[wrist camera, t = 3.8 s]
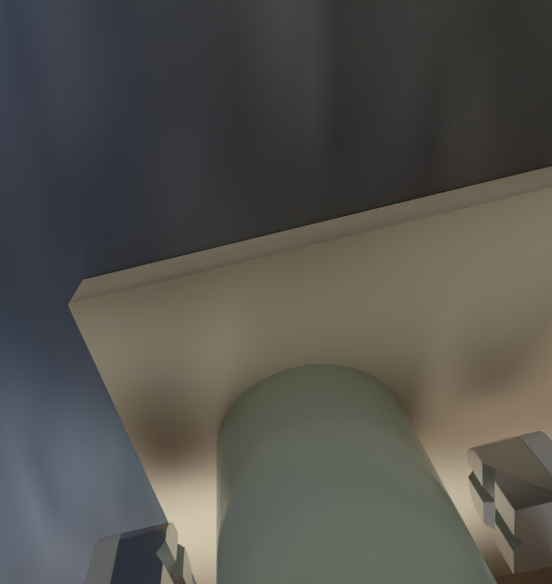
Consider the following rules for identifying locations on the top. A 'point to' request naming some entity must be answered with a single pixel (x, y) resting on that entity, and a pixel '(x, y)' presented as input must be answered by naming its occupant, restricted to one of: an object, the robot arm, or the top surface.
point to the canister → (333, 489)
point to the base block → (528, 577)
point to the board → (337, 336)
